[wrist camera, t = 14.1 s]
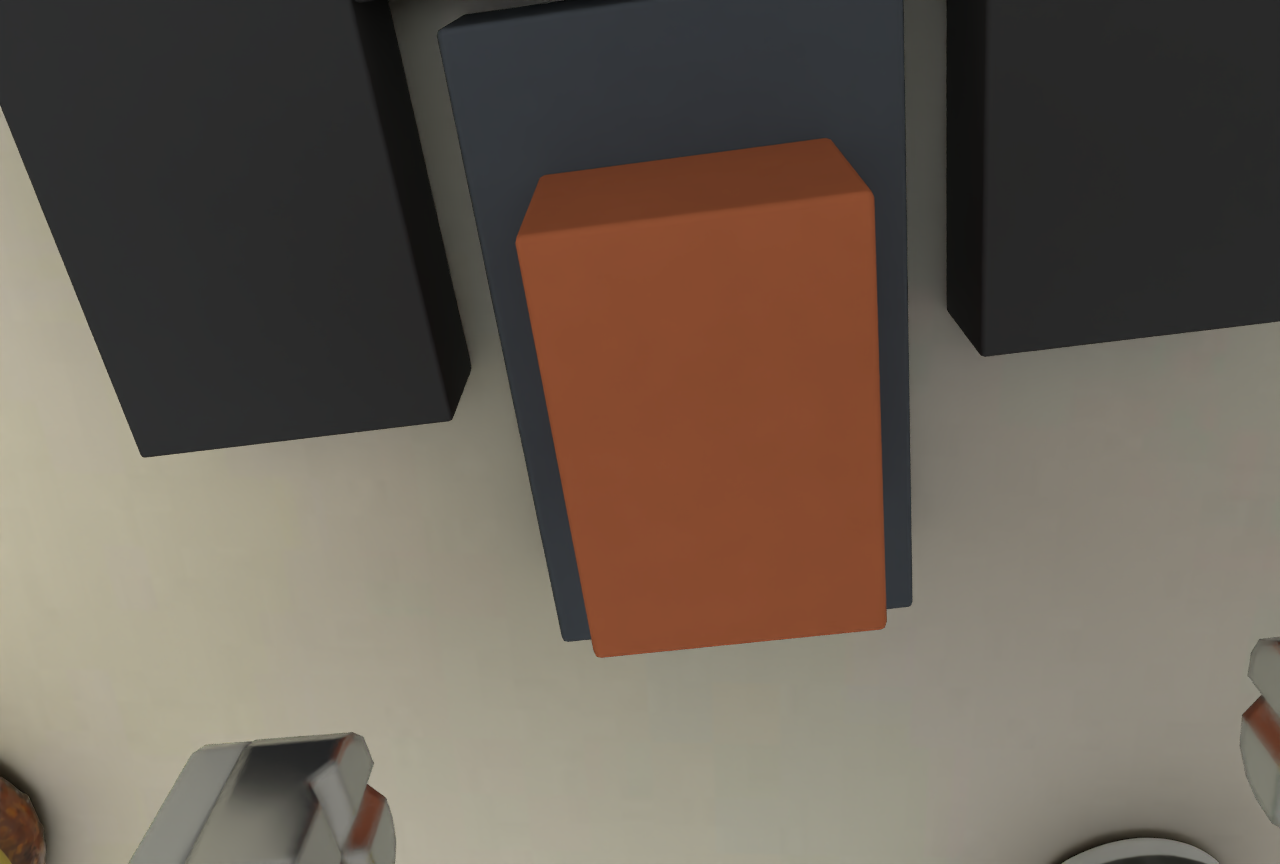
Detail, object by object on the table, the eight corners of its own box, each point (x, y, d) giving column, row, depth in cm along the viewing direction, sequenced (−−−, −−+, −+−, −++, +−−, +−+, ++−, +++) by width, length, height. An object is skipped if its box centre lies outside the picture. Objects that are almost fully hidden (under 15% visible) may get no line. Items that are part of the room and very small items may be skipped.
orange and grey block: (873, -45, 15) (971, -23, 10) (889, 543, 19) (961, 736, 15) (459, 14, 15) (381, 61, 11) (570, 577, 20) (547, 774, 15)
